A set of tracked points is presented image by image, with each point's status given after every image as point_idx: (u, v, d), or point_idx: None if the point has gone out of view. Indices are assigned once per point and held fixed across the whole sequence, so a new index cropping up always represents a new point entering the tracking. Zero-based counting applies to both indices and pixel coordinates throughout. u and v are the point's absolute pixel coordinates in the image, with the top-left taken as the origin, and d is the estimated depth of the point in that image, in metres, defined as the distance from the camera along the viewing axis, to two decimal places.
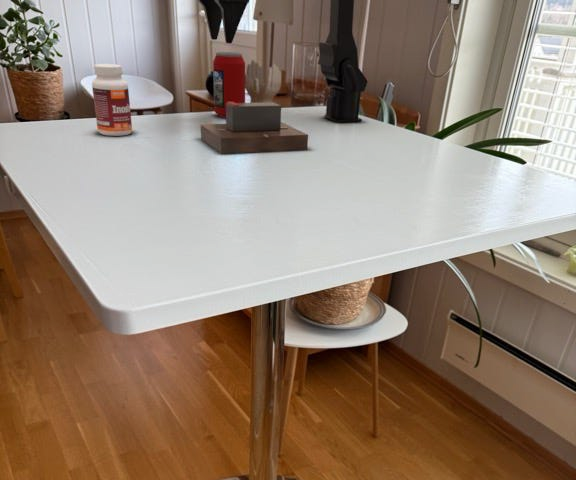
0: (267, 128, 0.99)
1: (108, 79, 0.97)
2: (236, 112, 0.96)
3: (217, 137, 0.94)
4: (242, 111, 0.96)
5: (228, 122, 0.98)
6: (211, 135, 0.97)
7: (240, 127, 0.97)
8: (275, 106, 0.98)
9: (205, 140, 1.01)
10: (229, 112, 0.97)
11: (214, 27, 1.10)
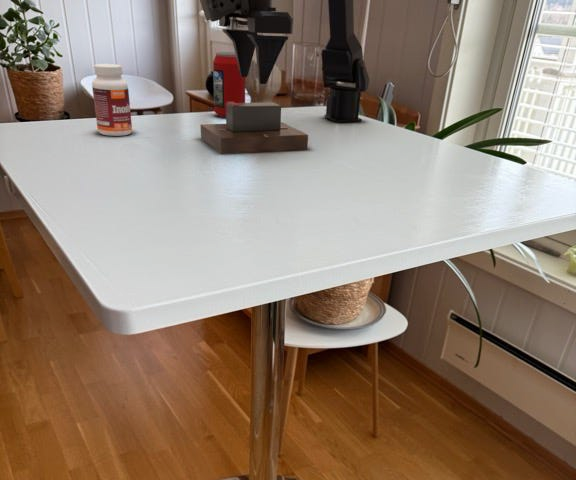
0: (267, 128, 0.99)
1: (108, 79, 0.97)
2: (236, 112, 0.96)
3: (217, 137, 0.94)
4: (242, 111, 0.96)
5: (228, 122, 0.98)
6: (211, 135, 0.97)
7: (240, 127, 0.97)
8: (275, 106, 0.98)
9: (205, 140, 1.01)
10: (229, 112, 0.97)
11: (244, 63, 0.98)
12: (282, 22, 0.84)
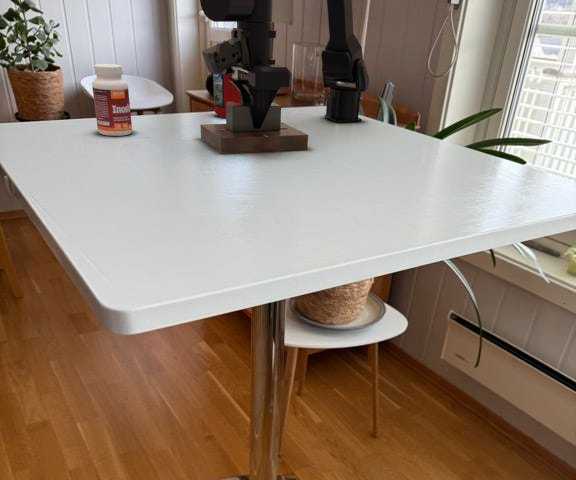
0: (267, 128, 0.99)
1: (108, 79, 0.97)
2: (236, 112, 0.96)
3: (217, 137, 0.94)
4: (242, 111, 0.96)
5: (228, 122, 0.98)
6: (211, 135, 0.97)
7: (240, 127, 0.97)
8: (275, 106, 0.98)
9: (205, 140, 1.01)
10: (229, 112, 0.97)
11: None
12: (281, 76, 0.88)
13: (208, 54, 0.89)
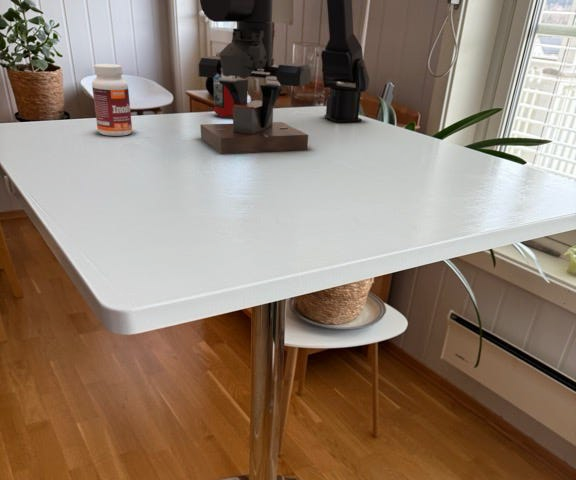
0: (267, 126, 1.01)
1: (108, 79, 0.97)
2: (253, 114, 0.95)
3: (217, 137, 0.94)
4: (256, 112, 0.96)
5: (239, 125, 0.96)
6: (211, 135, 0.97)
7: (255, 128, 0.97)
8: None
9: (205, 140, 1.01)
10: (243, 115, 0.95)
11: None
12: (307, 74, 0.93)
13: (241, 58, 0.87)
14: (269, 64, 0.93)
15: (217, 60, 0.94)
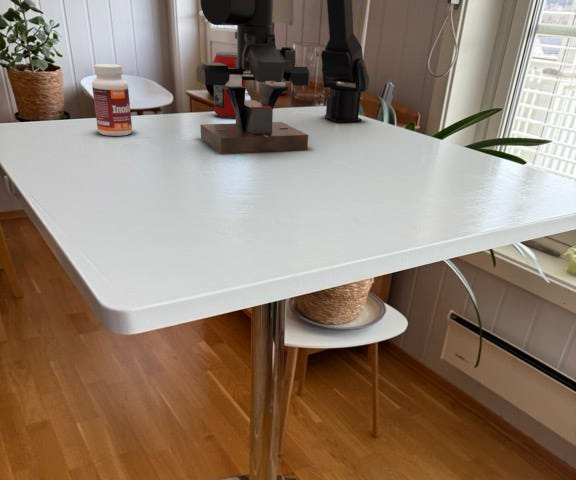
0: None
1: (108, 79, 0.97)
2: None
3: (217, 137, 0.94)
4: None
5: (260, 127, 0.96)
6: (211, 135, 0.97)
7: None
8: (256, 101, 1.01)
9: (205, 140, 1.01)
10: (263, 116, 0.95)
11: None
12: None
13: (283, 62, 0.88)
14: None
15: (226, 66, 0.91)
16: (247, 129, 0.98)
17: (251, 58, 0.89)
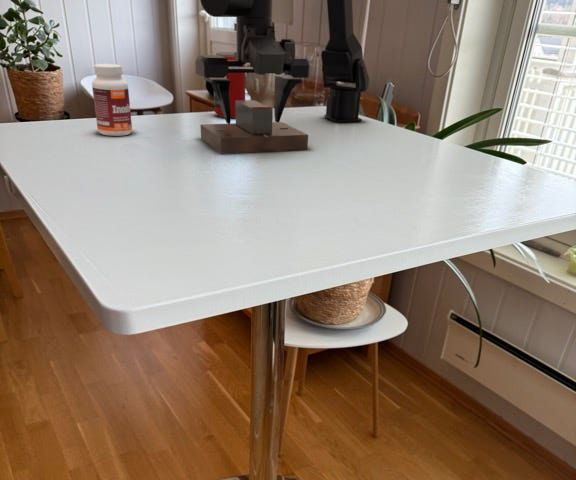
0: None
1: (108, 79, 0.97)
2: None
3: (217, 137, 0.94)
4: None
5: (260, 127, 0.96)
6: (211, 135, 0.97)
7: None
8: (256, 101, 1.01)
9: (205, 140, 1.01)
10: (263, 116, 0.95)
11: None
12: None
13: (283, 55, 0.87)
14: None
15: (225, 59, 0.90)
16: (247, 129, 0.98)
17: (250, 50, 0.88)
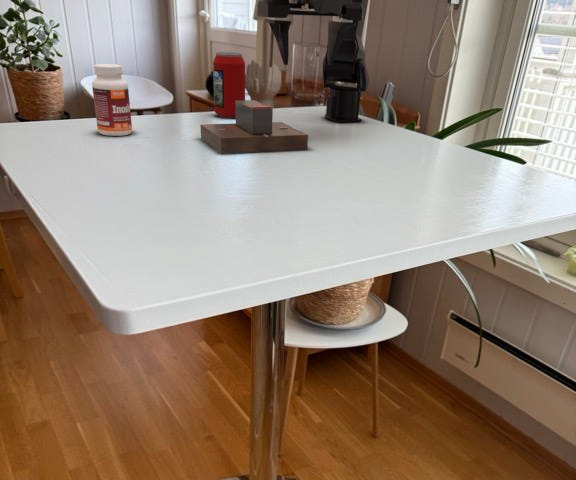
0: None
1: (108, 79, 0.97)
2: None
3: (217, 137, 0.94)
4: None
5: (260, 127, 0.96)
6: (211, 135, 0.97)
7: None
8: (256, 101, 1.01)
9: (205, 140, 1.01)
10: (263, 116, 0.95)
11: None
12: None
13: None
14: None
15: (287, 0, 0.96)
16: (247, 129, 0.98)
17: None
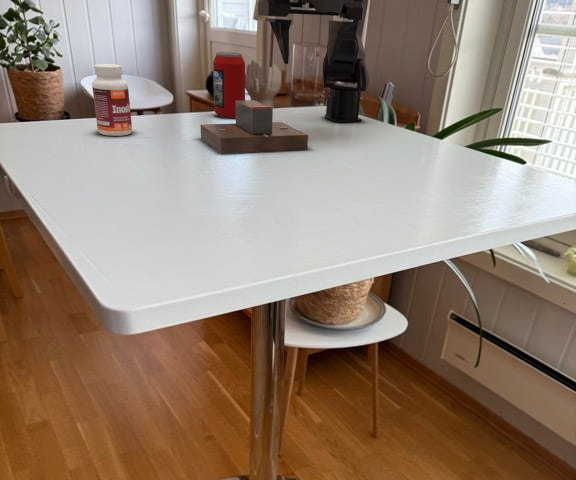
0: None
1: (108, 79, 0.97)
2: None
3: (217, 137, 0.94)
4: None
5: (260, 127, 0.96)
6: (211, 135, 0.97)
7: None
8: (256, 101, 1.01)
9: (205, 140, 1.01)
10: (263, 116, 0.95)
11: None
12: None
13: None
14: None
15: None
16: (247, 129, 0.98)
17: None
